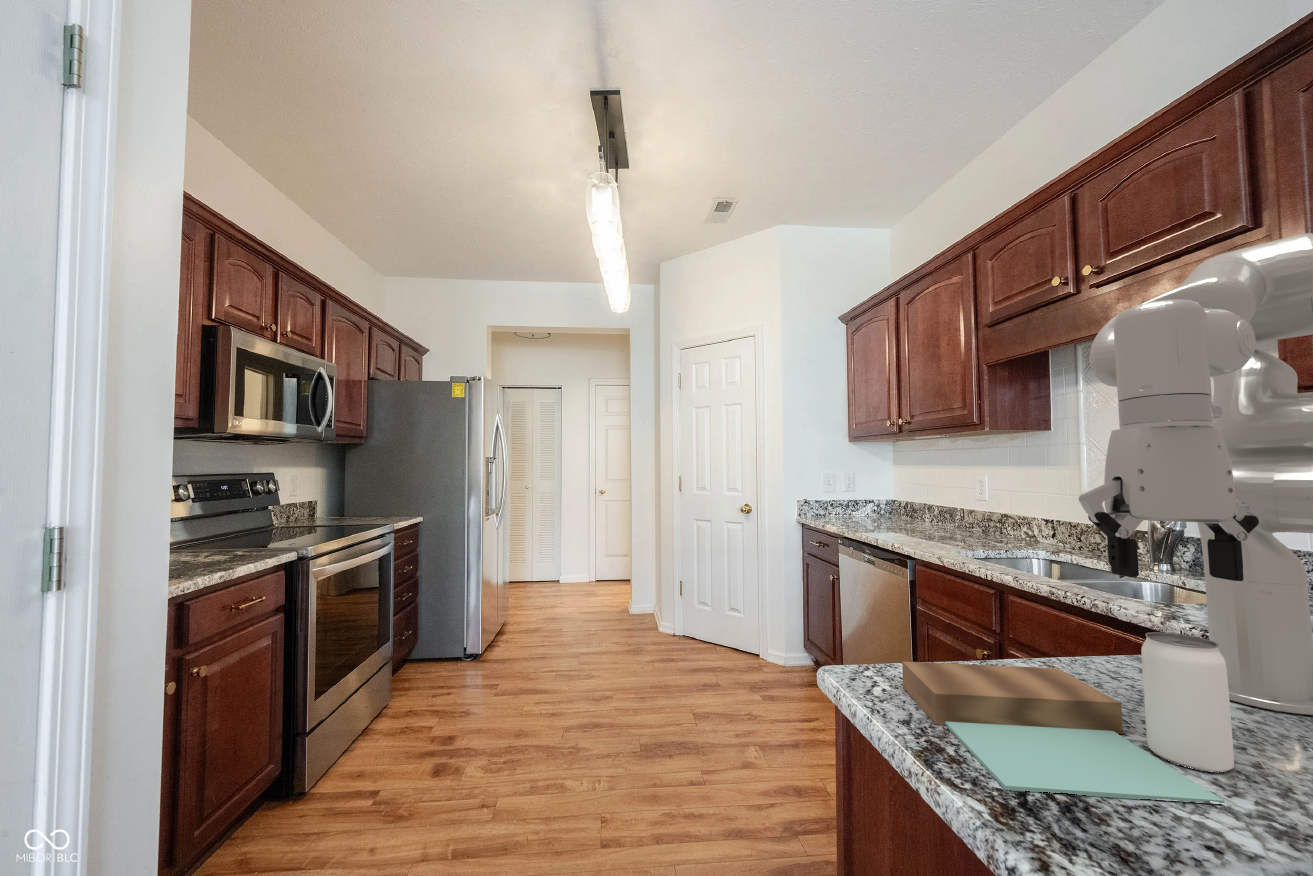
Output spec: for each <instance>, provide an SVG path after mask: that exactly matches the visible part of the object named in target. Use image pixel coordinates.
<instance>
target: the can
mask: <svg viewBox="0 0 1313 876" xmlns="http://www.w3.org/2000/svg"><path fill="white" fill-rule="evenodd" d="M1145 637H1146V638H1145V641H1144V643H1143V644H1142V645H1141V652H1140V653H1141V667H1142V668H1141V669H1142V684H1143V685H1142V686H1143V700H1144V701H1143V702H1144V712H1145V728H1146V729H1145V730H1146V740H1147V741H1146V742H1147V747H1148V748H1149V750H1151V752H1152V751H1153V752H1152V753H1153V754H1154V753H1155V754H1156V756H1157V755H1158V756H1160V757H1161V758H1160V757H1159V758H1160V759H1162V758H1163V759H1162V760H1164V759H1166V760H1169V761H1170V762H1172V763H1171V764H1173V763H1175V764H1174V765H1176V764H1179V765H1182V766H1186V767H1189V768H1190V767H1191V768H1193V769H1197V770H1203V771H1205V770H1206V771H1213V772H1215V773H1214V774H1222V773H1221V772H1222V771H1223V772H1225V771H1229V770H1233V769H1234V767H1235V759H1234V758H1235V755H1234V741H1233V731H1232V729H1233V727H1232V716H1231V703H1230V700H1229V690H1228V678H1227V668H1226V661H1225V659H1224V657H1223V656H1222V654H1221V653H1220V651H1219V650H1218V647H1219V644H1218V643H1216V642H1214V641H1211V640H1210V639H1207V638H1204V637H1199V636H1194V635H1190V634H1181V633H1174V632H1161V631H1160V632H1159V631H1153V632H1146V633H1145ZM1155 754H1154V755H1155ZM1158 756H1157V757H1158ZM1166 760H1165V761H1166ZM1170 762H1169V763H1170ZM1197 770H1196V771H1197ZM1216 772H1217V773H1216ZM1219 772H1220V773H1219ZM1229 772H1230V771H1229Z"/></svg>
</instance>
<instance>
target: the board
mask: <svg viewBox="0 0 1313 876" xmlns="http://www.w3.org/2000/svg"><path fill="white" fill-rule="evenodd" d="M901 665H902V666H901V667H902V688H903V690H905V691H906V693H907V694H908V695H909V696H910V698H912V699H913V701H915V703H916V704H917V705H918V706H919V708H921V709H922V711H923V712H924V713H925V714H926V715H927V716H928V717H929V718H930V719H931V720H932V721H933V723H934V724H935V725H937V726H939V725H941V726H945V721H946V722H964V723H982V724H1000V725H1018V726H1036V727H1054V728H1071V729H1089V730H1107V731H1114V732H1116V733H1117V734H1123V735H1124V731H1123V730H1124V729H1123V728H1124V727H1123V715H1122V702H1120V701H1119V700H1116V699H1115V698H1113V697H1111V696H1109V695H1108V694H1106V693H1104V692H1102V691H1100V690H1098V689H1096V688H1094V687H1093V686H1091V685H1089V684H1087V683H1085V682H1083V681H1082V680H1080V679H1079V678H1076V677H1074V676H1072V675H1070V674H1068V673H1067V672H1065V671H1064V670H1062V669H1060V668H1058V667H1056V668H1055V667H1038V666H1034V667H1033V666H1013V665H1012V666H1010V665H992V664H991V665H990V664H989V665H987V664H971V663H970V664H969V663H967V664H966V663H945V662H926V661H925V662H921V661H902V662H901Z"/></svg>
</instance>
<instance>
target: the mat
mask: <svg viewBox="0 0 1313 876" xmlns="http://www.w3.org/2000/svg"><path fill="white" fill-rule="evenodd" d="M944 726H945V727H947V729H948V730H949V731H950V732H951V734H953V736H955V738H956V739H957V740H958V741H959V742H960V743H961V744H962V745H963V746H964V747H965V748H966V749H967V750H968V751H969V753H970V754H971V755H972V756H973V757H974V758H975V759H976V760H977V761H978V762H979V763H980V764H981V765H982V766H983V768H984V769H985V770H986V771H987V772H988V773H989V774H990V776H991V777H993V778H994V780H995V781H997V783H998V784H999V785H1000V786H1001V787H1002V788H1003V789H1004V791H1008V792H1009V791H1010V790H1011V791H1010V792H1012V791H1013V792H1025V791H1030V792H1029V793H1038V792H1042V793H1041V794H1044V793H1043V792H1048V793H1047V794H1053V793H1055V792H1056V793H1061V792H1062V793H1068V794H1075V795H1074V796H1082V795H1086V796H1085V797H1097V798H1113V799H1126V800H1138V801H1139V800H1140V799H1158V798H1159V799H1169V800H1170V799H1171V800H1178V801H1179V800H1180V801H1213V802H1214V801H1215V802H1219V803H1224V804H1225V800H1224V799H1223V798H1221V797H1219V796H1218V795H1216V794H1215V793H1213V792H1212V791H1209V790H1208V789H1207V788H1205V787H1203V786H1202V785H1201V784H1198V782H1195V781H1194V780H1192V779H1190V778H1189V777H1187V776H1186V775H1184V774H1183V773H1182V772H1179V771H1178V770H1176V769H1174V768H1173V767H1171V766H1170V765H1168V764H1166V763H1165V762H1163V761H1162V760H1160V759H1159V758H1157V757H1155V756H1154V755H1153V754H1151V753H1150V752H1148V751H1146V750H1144V749H1143V748H1141V747H1140V746H1138V745H1137V744H1135V743H1133V742H1132V741H1131V740H1128V739H1127V738H1125V737H1124V736H1123V735H1119V734H1117V733H1116V732H1114V731H1107V730H1089V729H1071V728H1054V727H1036V726H1018V725H1000V724H982V723H964V722H946V721H945V725H944ZM1049 792H1050V793H1049ZM1076 794H1077V795H1076ZM1140 801H1141V800H1140ZM1225 805H1226V804H1225Z"/></svg>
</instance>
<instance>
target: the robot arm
mask: <svg viewBox="0 0 1313 876" xmlns="http://www.w3.org/2000/svg"><path fill="white" fill-rule="evenodd" d="M1312 335H1313V233H1312V232H1309V233H1302V234H1297V235H1296V234H1295V235H1292V236H1289V237H1283V238H1280V239H1279V238H1278V239H1275V240H1272V241H1268V242H1263V243H1260V244H1256V245H1252V246H1248V247H1244V248H1239V249H1236V250H1231V251H1228V252H1225V253H1224V252H1223V253H1221V254H1217V255H1214V256H1213V257H1211V258H1208V259H1206V260H1205V261H1203V262H1201V263H1200V264H1198V265H1197V266H1196V267H1195V268H1194V269H1193V270H1192V271H1191V272H1190V274H1188V276H1187V277H1186V278H1185V279H1184V280H1183V282H1182V283H1181V284H1180V285H1179V287H1176V288H1174V289H1171V290H1169V291H1166V292H1164V293H1163V294H1160V295H1158V296H1156V297H1154V298H1152V299H1150V300H1147V301H1145V302H1142V303H1140V304H1137V305H1135V306H1132V307H1129V308H1127V309H1124V310H1123V311H1122V312H1121V313H1119V314H1117V315H1116V316H1113V317H1112V318H1111V319H1110V320H1109V321H1108V322H1106V323H1105V324H1104V326H1103V327H1101V329H1100V330H1099V331H1098V333H1097V334H1096V336H1095V337H1094V339H1093V341H1092V344H1091V347H1090V352H1089V365H1090V368H1091V371H1092V374H1093V375H1094V376H1095V378H1096V379H1097V380H1098V381H1099V382H1100V383H1102V384H1103V385H1106V386H1108V387H1115V388H1116V389H1117V405H1118V406H1117V407H1118V423H1119V429H1113V430H1111V432H1110V436H1109V440H1108V444H1107V449H1106V455H1105V456H1106V457H1105V466H1104V467H1105V468H1104V483H1103V484H1102V485H1100V486H1098V487H1096V488H1093V489H1090V490H1089V491H1087V492H1085V493H1083V494H1080V495H1079V497H1078V501H1079V504H1080V505H1081V507H1082V509H1083V510H1084V511H1085V514H1087V517H1088V520H1089V521H1090V523H1092V524H1093V525H1094V526H1095V527H1096V528H1097V529H1099V531H1100V534H1101V535H1102V536H1104V537H1106V538H1107V539H1106V540H1107V554H1108V556H1107V557H1108V564H1109V566H1110V571H1111V573H1112V574H1113V575H1118V576H1122V577H1128V578H1137V577H1139V576H1140V570H1139V553H1138V552H1139V551H1138V541H1137V540H1136V538H1132V537H1131V535H1132V534H1133V532H1134V531H1136V529H1137V528H1138V527H1139V526H1140V525H1141V523H1143V521H1148V522H1149V521H1151V522H1152V521H1153V522H1173V523H1175V522H1180V523H1181V522H1182V523H1184V522H1185V523H1197V529H1198V532H1199V537H1200V542H1201V543H1200V545H1201V549H1202V558H1203V560H1202V561H1203V572H1204V583H1205V584H1204V586H1205V587H1204V588H1205V597H1206V610H1207V613H1206V614H1207V620H1208V621H1207V623H1208V626H1207V627H1208V637H1209V639H1208V640H1211V641H1214V642H1216V643H1218V644H1219V647H1218V650H1219V651H1220V653H1221V654H1222V656H1223V657H1224V659H1225V661H1226V668H1227V678H1228V690H1229V701H1232V702H1237V703H1239V704H1244V705H1247V706H1253V707H1255V708H1260V709H1265V710H1271V711H1276V712H1283V713H1288V714H1297V715H1310V716H1313V632H1312V631H1313V629H1312V622H1311V621H1312V620H1311V619H1312V617H1311V608H1310V598H1309V597H1310V596H1309V586H1308V576H1307V571H1306V568H1305V565H1304V564H1303V562H1302V561H1301V559H1300V558H1299V557H1298V555H1296V553H1294V552H1293V551H1292V550H1291V549H1290V548H1288V546H1286V545H1285V544H1284V543H1282V542H1281V541H1280V540H1279V539H1278V538H1276V537H1275V536H1274V533H1299V534H1313V391H1311V392H1309V391H1308V392H1298V382H1299V380H1298V374H1297V372H1296V370H1295V369H1294V368H1293V367H1292V366H1291V365H1289V364H1288V363H1287V362H1285V361H1283V360H1282V359H1281V358H1279V357H1276V356H1275V355H1273V354H1271V353H1269V352H1266V351H1264V350H1262V349H1259V348H1256V346H1257V343H1263V342H1264V343H1265V342H1270V341H1271V342H1272V341H1276V340H1277V341H1278V340H1283V339H1285V340H1286V339H1290V338H1291V339H1292V338H1297V337H1305V336H1312ZM1211 378H1212V380H1213V394H1212V381H1211ZM1212 395H1213V396H1212ZM1103 502H1104V506H1103Z"/></svg>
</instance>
